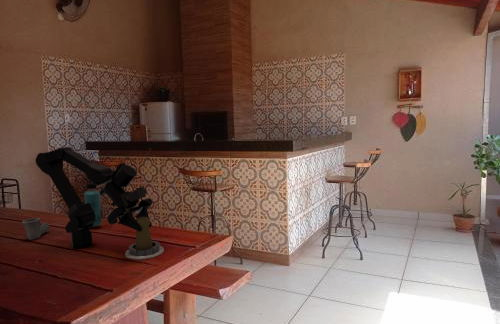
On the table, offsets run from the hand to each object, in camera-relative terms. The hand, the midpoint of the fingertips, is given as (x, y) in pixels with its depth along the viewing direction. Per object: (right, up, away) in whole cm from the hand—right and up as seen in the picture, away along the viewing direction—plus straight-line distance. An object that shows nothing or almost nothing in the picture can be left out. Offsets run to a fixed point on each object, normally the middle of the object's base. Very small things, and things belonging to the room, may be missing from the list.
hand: (146, 228), depth 131 cm
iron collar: (-1, -9, +1) cm, 9 cm away
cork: (-1, -7, +1) cm, 7 cm away
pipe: (-52, -8, +25) cm, 58 cm away
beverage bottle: (-33, -6, +36) cm, 49 cm away
